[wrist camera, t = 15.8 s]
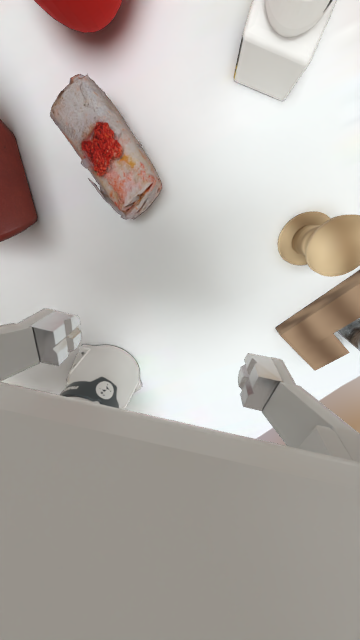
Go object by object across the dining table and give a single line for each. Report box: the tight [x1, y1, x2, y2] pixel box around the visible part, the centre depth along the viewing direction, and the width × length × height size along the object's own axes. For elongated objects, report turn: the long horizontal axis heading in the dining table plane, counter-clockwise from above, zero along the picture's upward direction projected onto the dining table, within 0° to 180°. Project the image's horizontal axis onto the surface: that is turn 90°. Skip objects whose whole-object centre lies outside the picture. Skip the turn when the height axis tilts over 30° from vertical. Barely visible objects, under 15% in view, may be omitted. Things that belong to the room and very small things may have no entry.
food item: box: [50, 74, 162, 220], centre depth 26 cm, size 14×8×10 cm, turn 38°
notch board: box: [276, 270, 360, 370], centre depth 36 cm, size 20×12×3 cm, turn 138°
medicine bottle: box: [234, 0, 337, 101], centre depth 18 cm, size 7×7×12 cm
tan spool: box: [278, 212, 360, 277], centre depth 28 cm, size 8×8×10 cm
